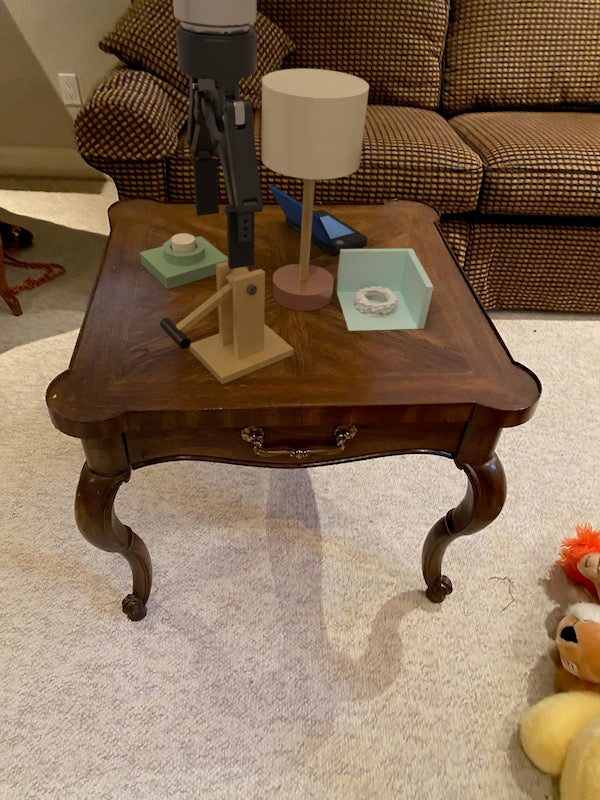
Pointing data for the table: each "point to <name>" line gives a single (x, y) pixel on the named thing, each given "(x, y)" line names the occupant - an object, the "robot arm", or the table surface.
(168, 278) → the switch box
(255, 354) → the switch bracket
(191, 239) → the button
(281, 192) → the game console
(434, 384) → the table surface
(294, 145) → the lamp
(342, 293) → the right angle wall
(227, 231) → the robot arm
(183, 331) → the lamp lever
